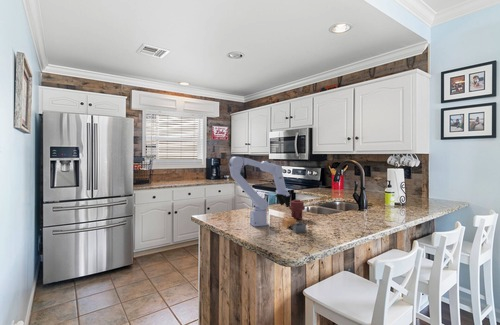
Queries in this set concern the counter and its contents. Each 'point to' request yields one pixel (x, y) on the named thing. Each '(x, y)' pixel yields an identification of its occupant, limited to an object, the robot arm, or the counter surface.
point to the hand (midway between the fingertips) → (285, 205)
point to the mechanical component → (296, 209)
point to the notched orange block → (288, 222)
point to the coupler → (298, 227)
